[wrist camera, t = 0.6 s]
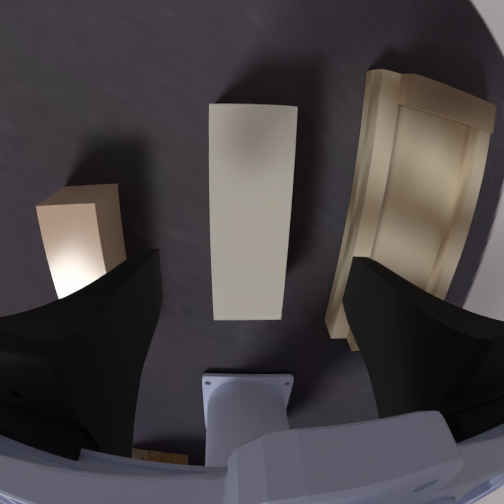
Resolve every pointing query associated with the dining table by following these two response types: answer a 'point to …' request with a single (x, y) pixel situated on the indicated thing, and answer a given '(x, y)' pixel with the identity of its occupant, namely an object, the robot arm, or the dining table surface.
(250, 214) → the clay bar
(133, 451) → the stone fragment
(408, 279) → the wooden tray
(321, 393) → the dining table surface
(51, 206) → the fired bar
